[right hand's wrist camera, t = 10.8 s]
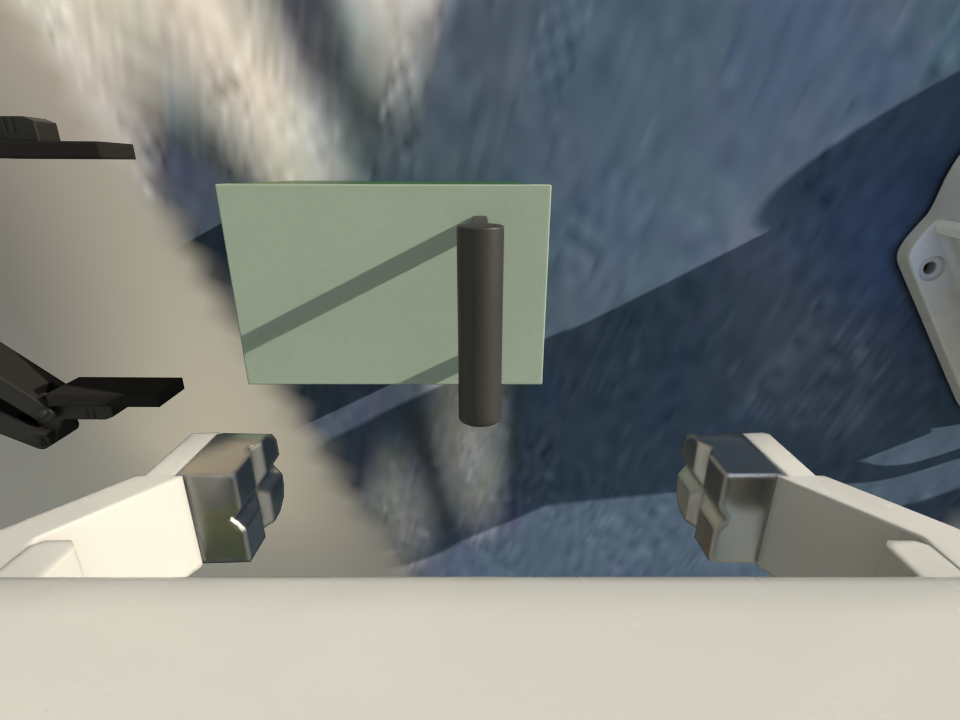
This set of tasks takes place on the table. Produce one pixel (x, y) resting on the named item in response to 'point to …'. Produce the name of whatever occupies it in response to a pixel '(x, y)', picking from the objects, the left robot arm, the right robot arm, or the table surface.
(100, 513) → the right robot arm
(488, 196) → the lid
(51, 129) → the left robot arm
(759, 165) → the table surface
